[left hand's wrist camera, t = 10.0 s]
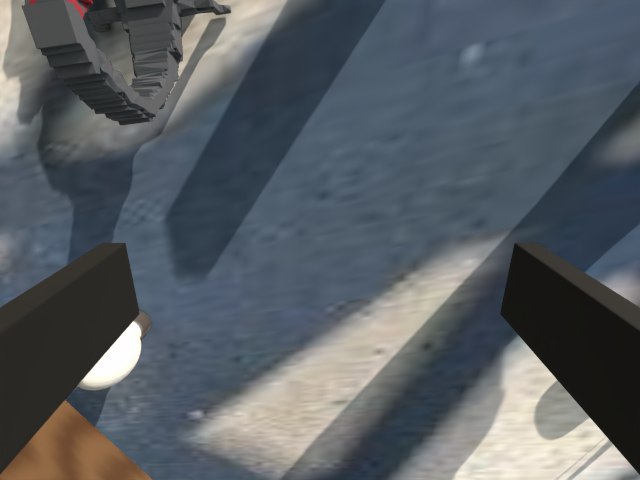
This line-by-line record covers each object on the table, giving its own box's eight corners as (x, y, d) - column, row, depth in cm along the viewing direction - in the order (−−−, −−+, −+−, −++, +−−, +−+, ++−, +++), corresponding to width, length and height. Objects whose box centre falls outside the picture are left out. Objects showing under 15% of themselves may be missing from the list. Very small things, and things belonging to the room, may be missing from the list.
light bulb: (165, 309, 47) (122, 366, 36) (154, 348, 49) (109, 413, 38) (114, 291, 46) (54, 345, 35) (104, 333, 48) (45, 395, 38)
